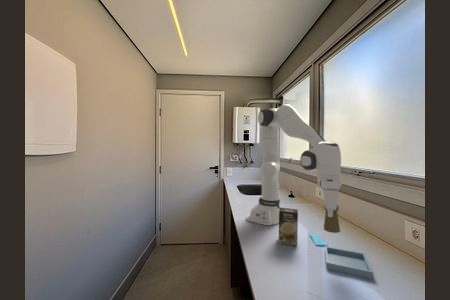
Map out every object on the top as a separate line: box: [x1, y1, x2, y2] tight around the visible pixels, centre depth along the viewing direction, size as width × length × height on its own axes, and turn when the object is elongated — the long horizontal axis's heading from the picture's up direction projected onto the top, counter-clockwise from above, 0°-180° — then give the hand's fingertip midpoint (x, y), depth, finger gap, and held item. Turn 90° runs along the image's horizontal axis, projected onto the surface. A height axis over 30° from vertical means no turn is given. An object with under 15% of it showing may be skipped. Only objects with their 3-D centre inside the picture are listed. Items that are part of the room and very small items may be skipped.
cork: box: [323, 204, 341, 234], centre depth 82 cm, size 6×6×11 cm
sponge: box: [309, 233, 329, 247], centre depth 101 cm, size 2×12×6 cm
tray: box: [324, 245, 374, 280], centre depth 81 cm, size 15×14×2 cm
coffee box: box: [278, 206, 299, 246], centre depth 100 cm, size 9×6×16 cm
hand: (329, 214), depth 82 cm, fingers closed on cork, 4 cm apart
